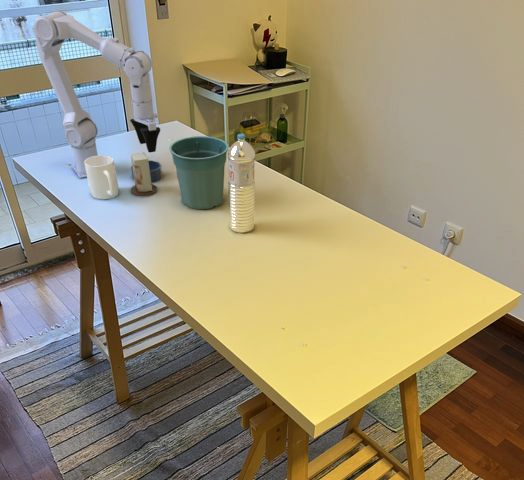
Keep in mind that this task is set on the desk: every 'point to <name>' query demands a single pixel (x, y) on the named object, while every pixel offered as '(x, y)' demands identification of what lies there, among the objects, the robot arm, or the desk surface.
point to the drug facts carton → (141, 172)
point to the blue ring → (153, 170)
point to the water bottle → (241, 185)
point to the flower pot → (200, 170)
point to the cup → (101, 177)
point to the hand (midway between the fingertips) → (147, 147)
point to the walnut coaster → (148, 193)
